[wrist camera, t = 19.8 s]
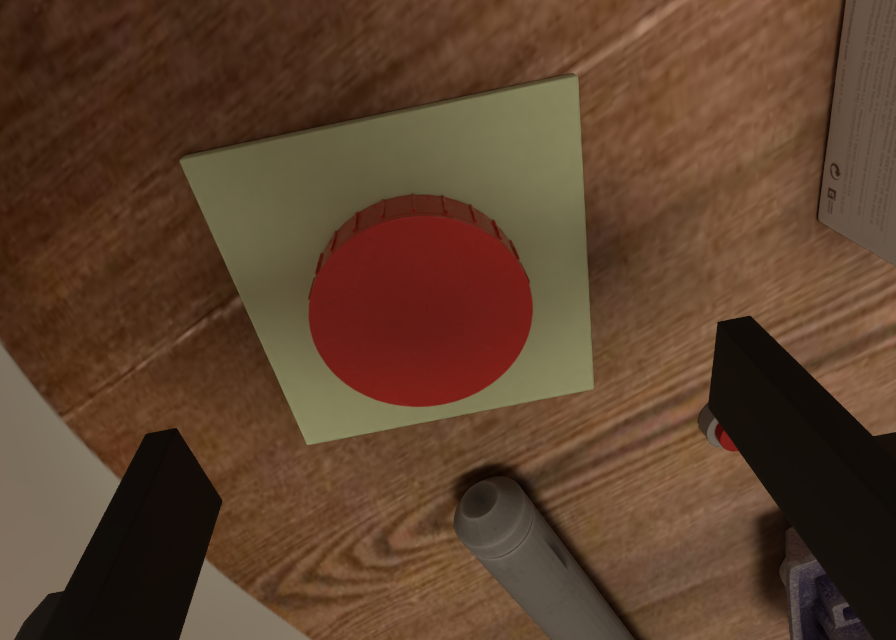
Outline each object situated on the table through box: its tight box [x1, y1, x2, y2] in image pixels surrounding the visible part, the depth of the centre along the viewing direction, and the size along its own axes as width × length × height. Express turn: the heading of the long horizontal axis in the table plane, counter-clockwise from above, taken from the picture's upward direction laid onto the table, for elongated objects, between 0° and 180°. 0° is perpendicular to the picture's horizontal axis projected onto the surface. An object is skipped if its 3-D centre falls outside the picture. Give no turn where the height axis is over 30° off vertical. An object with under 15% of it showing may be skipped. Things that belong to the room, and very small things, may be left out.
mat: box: [179, 73, 594, 445], centre depth 23 cm, size 14×14×1 cm
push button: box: [698, 404, 739, 451], centre depth 28 cm, size 3×3×2 cm
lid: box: [308, 193, 533, 407], centre depth 22 cm, size 8×8×2 cm
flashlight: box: [454, 476, 635, 640], centre depth 34 cm, size 5×28×5 cm
